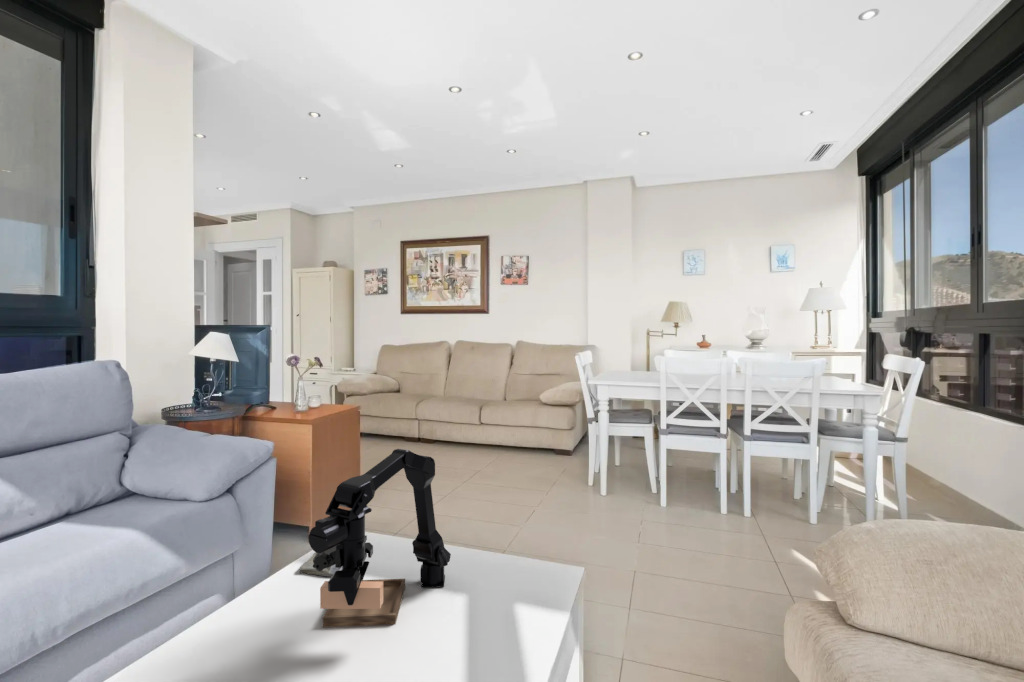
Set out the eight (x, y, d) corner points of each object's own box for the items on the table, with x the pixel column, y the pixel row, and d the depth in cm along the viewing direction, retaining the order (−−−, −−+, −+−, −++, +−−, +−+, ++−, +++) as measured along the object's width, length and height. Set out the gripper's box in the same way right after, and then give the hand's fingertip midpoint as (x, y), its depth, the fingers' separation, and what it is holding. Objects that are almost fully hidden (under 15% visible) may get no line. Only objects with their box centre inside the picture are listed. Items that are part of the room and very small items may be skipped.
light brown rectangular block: (383, 601, 117) (383, 581, 117) (380, 609, 114) (380, 588, 114) (325, 601, 117) (325, 581, 117) (320, 608, 114) (320, 587, 114)
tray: (405, 586, 142) (405, 578, 142) (395, 624, 124) (395, 614, 124) (341, 588, 140) (341, 580, 140) (322, 627, 122) (322, 617, 122)
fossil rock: (318, 552, 164) (318, 545, 164) (362, 553, 164) (362, 546, 164) (294, 578, 147) (294, 570, 147) (343, 579, 146) (343, 571, 146)
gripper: (329, 521, 124) (329, 581, 124) (303, 555, 105) (303, 626, 106) (373, 520, 125) (373, 580, 125) (356, 553, 106) (356, 624, 107)
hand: (352, 600), depth 116 cm, fingers closed on light brown rectangular block, 3 cm apart
